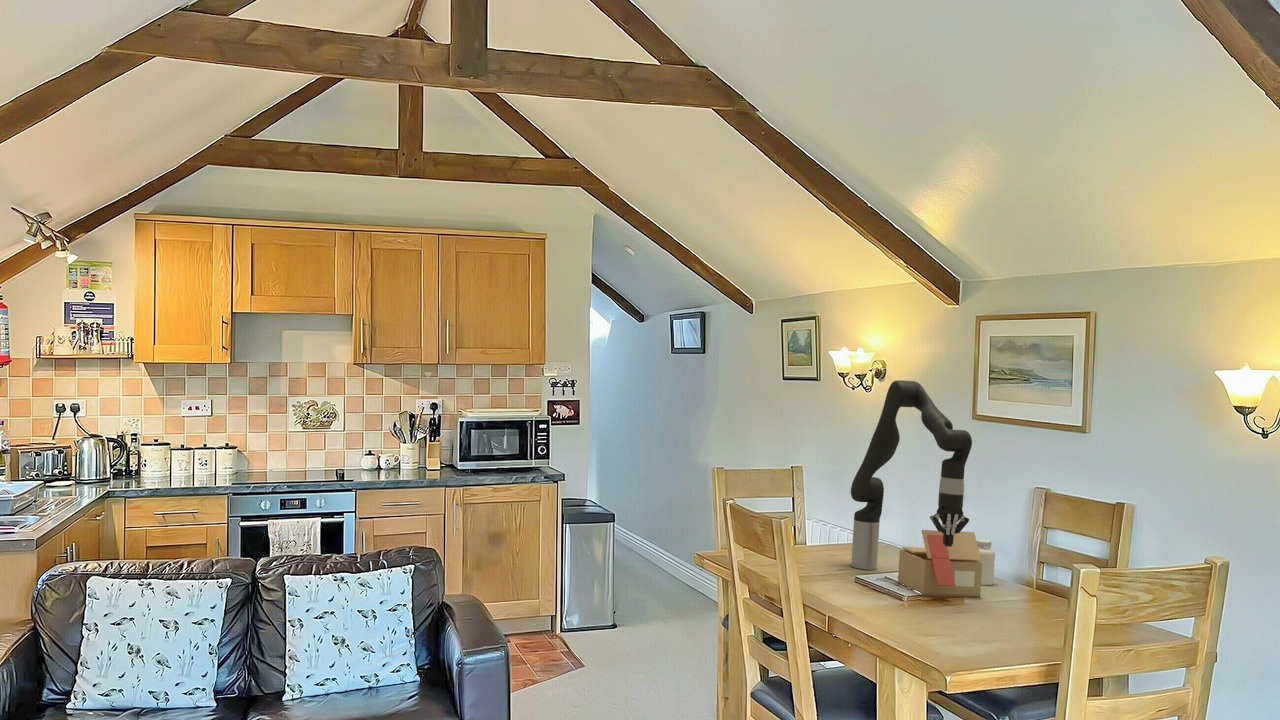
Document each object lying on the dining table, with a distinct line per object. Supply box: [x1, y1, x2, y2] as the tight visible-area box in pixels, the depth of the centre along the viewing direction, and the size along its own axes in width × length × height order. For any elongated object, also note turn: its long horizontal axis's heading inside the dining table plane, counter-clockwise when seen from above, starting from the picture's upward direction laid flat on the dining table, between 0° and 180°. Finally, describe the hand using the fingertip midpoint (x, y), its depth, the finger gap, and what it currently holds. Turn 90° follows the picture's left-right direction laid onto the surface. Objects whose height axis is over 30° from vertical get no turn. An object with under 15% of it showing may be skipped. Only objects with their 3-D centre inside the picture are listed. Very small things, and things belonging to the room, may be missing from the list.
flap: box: [921, 529, 981, 586], centre depth 315 cm, size 19×18×1 cm
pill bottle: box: [976, 539, 996, 586], centre depth 342 cm, size 8×8×15 cm
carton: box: [897, 546, 982, 599], centre depth 324 cm, size 19×20×12 cm
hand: (947, 546), depth 310 cm, fingers closed
